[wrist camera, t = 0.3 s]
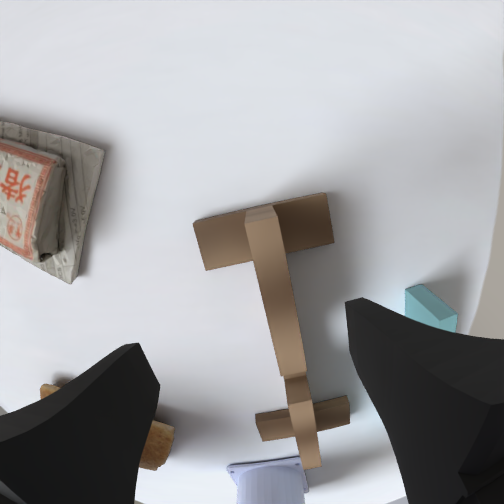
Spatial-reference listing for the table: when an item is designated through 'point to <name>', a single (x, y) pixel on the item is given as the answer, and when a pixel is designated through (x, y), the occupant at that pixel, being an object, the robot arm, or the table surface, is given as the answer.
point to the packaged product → (46, 197)
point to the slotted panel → (429, 309)
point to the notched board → (279, 304)
